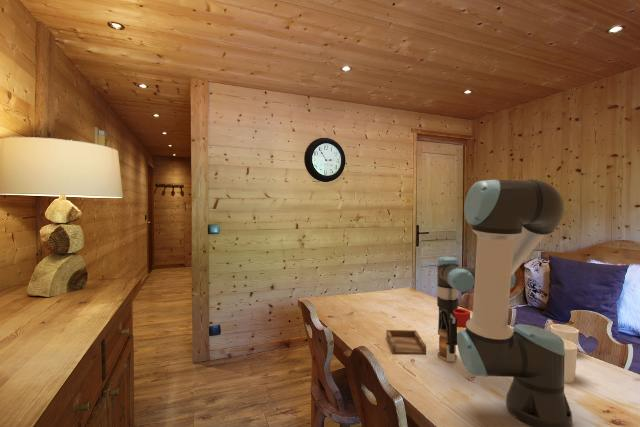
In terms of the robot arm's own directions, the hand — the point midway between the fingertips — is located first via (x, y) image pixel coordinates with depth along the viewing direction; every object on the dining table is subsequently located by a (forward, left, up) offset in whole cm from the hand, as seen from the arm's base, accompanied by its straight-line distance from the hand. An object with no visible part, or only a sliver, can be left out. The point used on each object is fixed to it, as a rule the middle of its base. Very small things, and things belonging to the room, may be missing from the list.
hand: (447, 356), depth 123 cm
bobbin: (0, 0, -1) cm, 1 cm away
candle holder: (-13, -33, -1) cm, 35 cm away
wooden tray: (+10, +14, -1) cm, 17 cm away
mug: (+6, -48, -1) cm, 49 cm away
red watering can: (+41, -18, -1) cm, 45 cm away
